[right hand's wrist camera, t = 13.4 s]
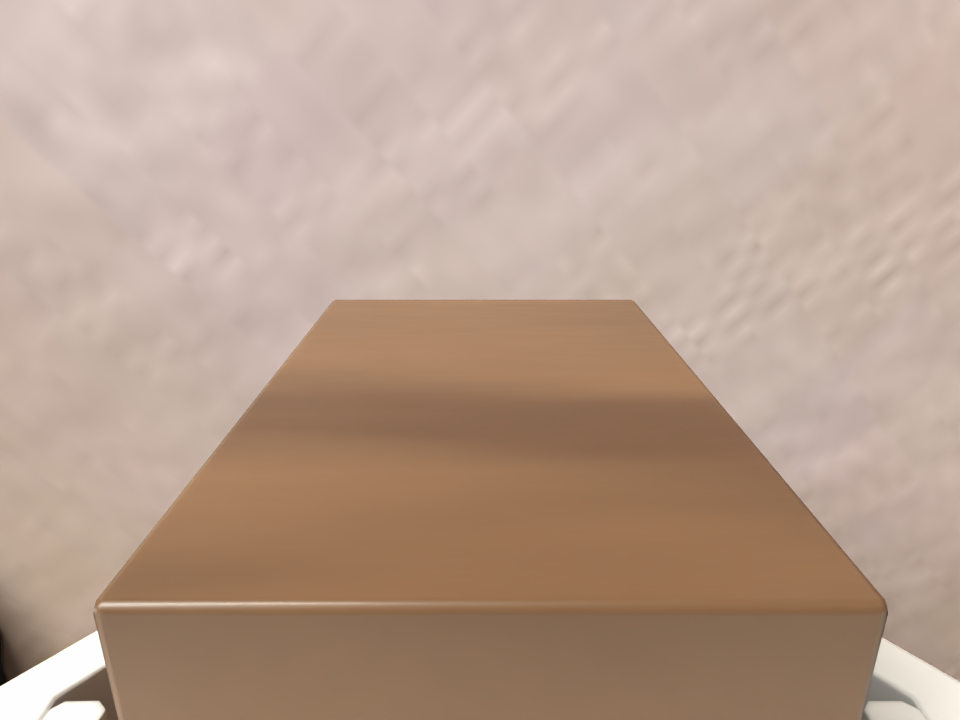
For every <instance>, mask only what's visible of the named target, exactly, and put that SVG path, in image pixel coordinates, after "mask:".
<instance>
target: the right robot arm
mask: <svg viewBox="0 0 960 720" xmlns="http://www.w3.org/2000/svg"><path fill="white" fill-rule="evenodd" d="M0 720H118V715H117V711H116V707H115V703H114V699H113V694H112V690H111V686H110V682H109V678H108V673H107V669H106V665H105V661H104V657H103V652H102V648H101V644H100V640H99V636H98V631H96V632H94V633H92V634H90V635H89V636H87V637H85V638H83V639H82V640H80V641H78V642H76V643H75V644H73V645H71V646H69V647H68V648H66V649H64V650H62V651H61V652H59V653H57V654H56V655H54V656H52V657H50V658H49V659H47V660H45V661H43V662H42V663H40V664H38V665H36V666H35V667H33V668H31V669H29V670H28V671H26V672H24V673H22V674H21V675H19V676H17V677H15V678H14V679H12V680H10V681H9V682H7V683H5V684H3V685H2V686H0ZM861 720H960V681H958V680H956V679H955V678H953V677H951V676H949V675H947V674H946V673H944V672H942V671H940V670H939V669H937V668H935V667H933V666H932V665H930V664H928V663H926V662H925V661H923V660H921V659H919V658H918V657H916V656H914V655H912V654H911V653H909V652H907V651H905V650H904V649H902V648H900V647H898V646H897V645H895V644H893V643H891V642H890V641H888V640H886V639H884V638H883V637H882V639H881V643H880V647H879V651H878V655H877V659H876V663H875V667H874V671H873V675H872V679H871V683H870V687H869V691H868V695H867V699H866V703H865V707H864V711H863V715H862V719H861Z"/></svg>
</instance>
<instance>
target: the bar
mask: <svg viewBox="0 0 960 720" xmlns="http://www.w3.org/2000/svg"><path fill="white" fill-rule="evenodd" d="M93 614H94V619H95V623H96V627H97V631H98V636H99V640H100V644H101V648H102V652H103V657H104V661H105V665H106V669H107V673H108V678H109V682H110V686H111V690H112V694H113V699H114V703H115V707H116V711H117V715H118V720H861V719H862V715H863V711H864V707H865V703H866V699H867V695H868V691H869V687H870V683H871V679H872V675H873V671H874V667H875V663H876V659H877V655H878V651H879V647H880V643H881V639H882V635H883V631H884V627H885V623H886V619H887V615H888V610H887V605H886V602H885V600H884V598H883V597H882V596H881V595H880V594H879V592H878V591H877V590H876V589H875V588H874V587H873V585H872V584H871V583H870V582H869V581H868V579H867V578H866V577H865V576H864V575H863V573H862V572H861V571H860V570H859V569H858V567H857V566H856V565H855V564H854V563H853V562H852V560H851V559H850V558H849V557H848V556H847V554H846V553H845V552H844V551H843V550H842V548H841V547H840V546H839V545H838V544H837V542H836V541H835V540H834V539H833V538H832V537H831V535H830V534H829V533H828V532H827V531H826V529H825V528H824V527H823V526H822V525H821V523H820V522H819V521H818V520H817V519H816V517H815V516H814V515H813V514H812V513H811V511H810V510H809V509H808V508H807V507H806V506H805V504H804V503H803V502H802V501H801V500H800V498H799V497H798V496H797V495H796V494H795V492H794V491H793V490H792V489H791V488H790V486H789V485H788V484H787V483H786V482H785V481H784V479H783V478H782V477H781V476H780V475H779V473H778V472H777V471H776V470H775V469H774V467H773V466H772V465H771V464H770V463H769V461H768V460H767V459H766V458H765V457H764V456H763V454H762V453H761V452H760V451H759V450H758V448H757V447H756V446H755V445H754V444H753V442H752V441H751V440H750V439H749V438H748V436H747V435H746V434H745V433H744V432H743V431H742V429H741V428H740V427H739V426H738V425H737V423H736V422H735V421H734V420H733V419H732V417H731V416H730V415H729V414H728V413H727V411H726V410H725V409H724V408H723V407H722V405H721V404H720V403H719V402H718V401H717V400H716V398H715V397H714V396H713V395H712V394H711V392H710V391H709V390H708V389H707V388H706V386H705V385H704V384H703V383H702V382H701V380H700V379H699V378H698V377H697V376H696V375H695V373H694V372H693V371H692V370H691V369H690V367H689V366H688V365H687V364H686V363H685V361H684V360H683V359H682V358H681V357H680V355H679V354H678V353H677V352H676V351H675V350H674V348H673V347H672V346H671V345H670V344H669V342H668V341H667V340H666V339H665V338H664V336H663V335H662V334H661V333H660V332H659V330H658V329H657V328H656V327H655V326H654V325H653V323H652V322H651V321H650V320H649V319H648V317H647V316H646V315H645V314H644V313H643V311H642V310H641V309H640V308H639V307H638V305H637V304H636V303H635V302H634V301H632V300H335V301H333V302H332V303H331V304H330V306H329V307H328V308H327V309H326V311H325V312H324V313H323V314H322V316H321V317H320V318H319V319H318V321H317V322H316V323H315V325H314V326H313V327H312V328H311V330H310V331H309V332H308V333H307V335H306V336H305V337H304V338H303V340H302V341H301V342H300V344H299V345H298V346H297V347H296V349H295V350H294V351H293V352H292V354H291V355H290V356H289V357H288V359H287V360H286V361H285V363H284V364H283V365H282V366H281V368H280V369H279V370H278V371H277V373H276V374H275V375H274V376H273V378H272V379H271V380H270V381H269V383H268V384H267V385H266V387H265V388H264V389H263V390H262V392H261V393H260V394H259V395H258V397H257V398H256V399H255V400H254V402H253V403H252V404H251V406H250V407H249V408H248V409H247V411H246V412H245V413H244V414H243V416H242V417H241V418H240V419H239V421H238V422H237V423H236V425H235V426H234V427H233V428H232V430H231V431H230V432H229V433H228V435H227V436H226V437H225V438H224V440H223V441H222V442H221V444H220V445H219V446H218V447H217V449H216V450H215V451H214V452H213V454H212V455H211V456H210V457H209V459H208V460H207V461H206V463H205V464H204V465H203V466H202V468H201V469H200V470H199V471H198V473H197V474H196V475H195V476H194V478H193V479H192V480H191V482H190V483H189V484H188V485H187V487H186V488H185V489H184V490H183V492H182V493H181V494H180V495H179V497H178V498H177V499H176V501H175V502H174V503H173V504H172V506H171V507H170V508H169V509H168V511H167V512H166V513H165V514H164V516H163V517H162V518H161V520H160V521H159V522H158V523H157V525H156V526H155V527H154V528H153V530H152V531H151V532H150V533H149V535H148V536H147V537H146V539H145V540H144V541H143V542H142V544H141V545H140V546H139V547H138V549H137V550H136V551H135V552H134V554H133V555H132V556H131V557H130V559H129V560H128V561H127V563H126V564H125V565H124V566H123V568H122V569H121V570H120V571H119V573H118V574H117V575H116V576H115V578H114V579H113V580H112V582H111V583H110V584H109V585H108V587H107V588H106V589H105V590H104V592H103V593H102V594H101V595H100V597H99V598H98V599H97V601H96V604H95V607H94V613H93Z"/></svg>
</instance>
